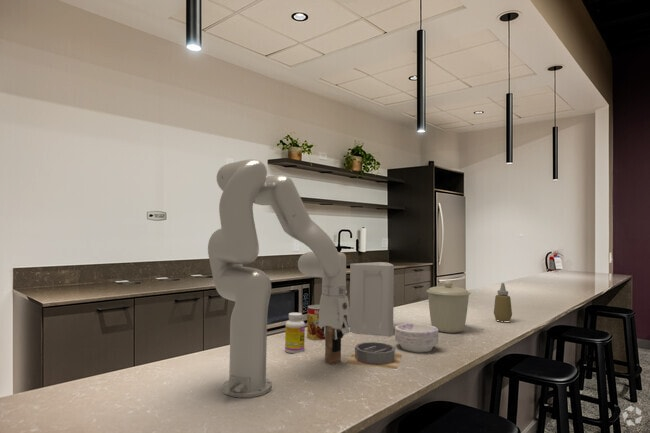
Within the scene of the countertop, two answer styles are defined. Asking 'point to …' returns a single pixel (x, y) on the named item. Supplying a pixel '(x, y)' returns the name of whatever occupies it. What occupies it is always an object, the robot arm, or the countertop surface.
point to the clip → (374, 349)
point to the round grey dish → (373, 356)
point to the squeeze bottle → (502, 305)
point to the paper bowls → (416, 337)
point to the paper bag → (371, 298)
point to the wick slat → (330, 347)
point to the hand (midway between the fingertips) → (333, 349)
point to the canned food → (314, 324)
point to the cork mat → (391, 365)
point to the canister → (448, 307)
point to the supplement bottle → (294, 333)
